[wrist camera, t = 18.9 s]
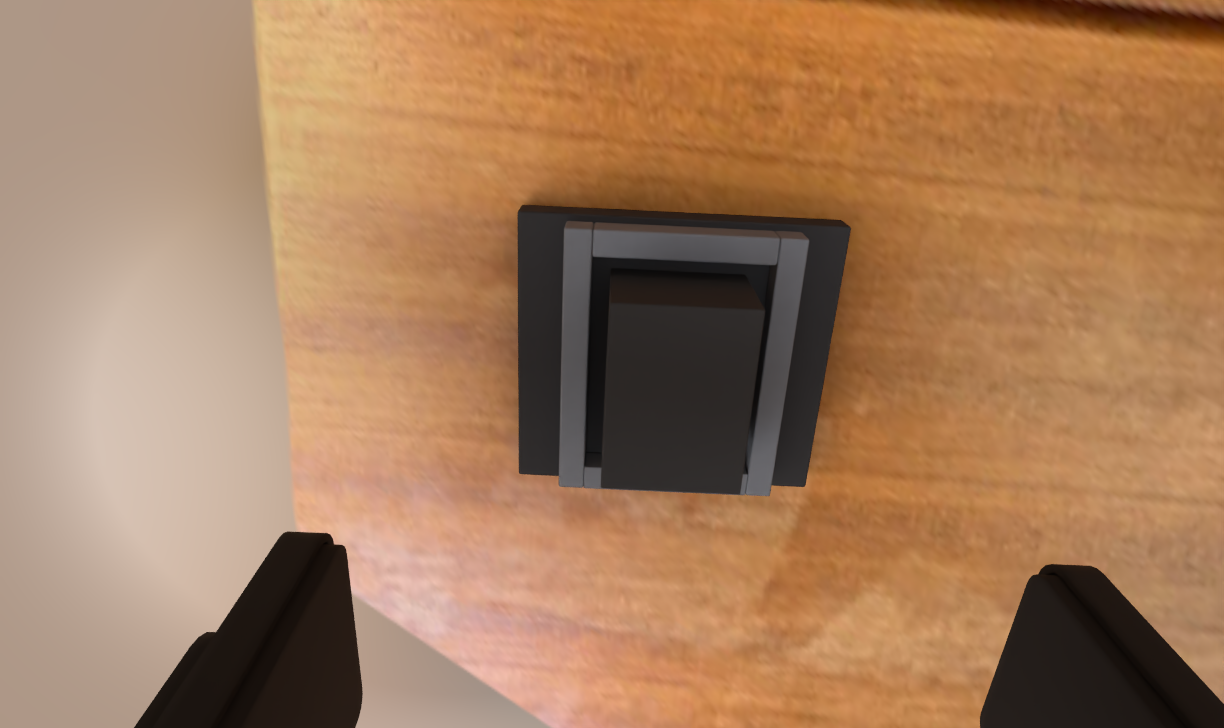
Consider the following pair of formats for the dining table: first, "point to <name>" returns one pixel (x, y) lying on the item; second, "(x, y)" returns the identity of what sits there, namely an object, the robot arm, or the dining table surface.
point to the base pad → (686, 242)
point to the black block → (679, 380)
